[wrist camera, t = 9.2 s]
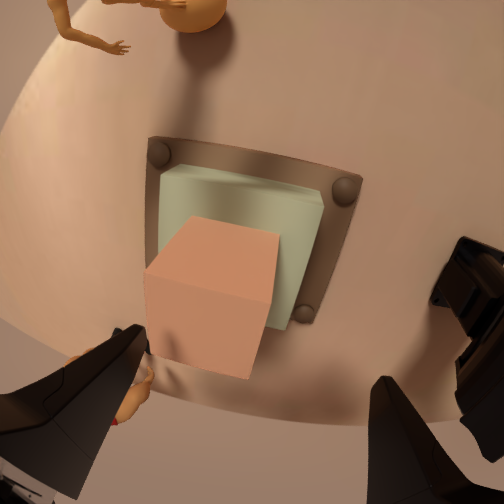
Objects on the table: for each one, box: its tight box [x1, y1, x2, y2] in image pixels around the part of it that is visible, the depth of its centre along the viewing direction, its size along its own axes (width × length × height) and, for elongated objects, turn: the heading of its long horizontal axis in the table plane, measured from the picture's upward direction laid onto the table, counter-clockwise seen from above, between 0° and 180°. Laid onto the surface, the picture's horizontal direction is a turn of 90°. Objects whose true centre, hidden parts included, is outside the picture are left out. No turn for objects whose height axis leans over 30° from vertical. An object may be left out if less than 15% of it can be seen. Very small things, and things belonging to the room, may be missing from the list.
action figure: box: [64, 328, 154, 425], centre depth 21 cm, size 9×4×15 cm, turn 82°
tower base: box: [145, 136, 363, 331], centre depth 18 cm, size 14×12×4 cm
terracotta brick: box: [144, 216, 280, 380], centre depth 14 cm, size 5×5×6 cm
